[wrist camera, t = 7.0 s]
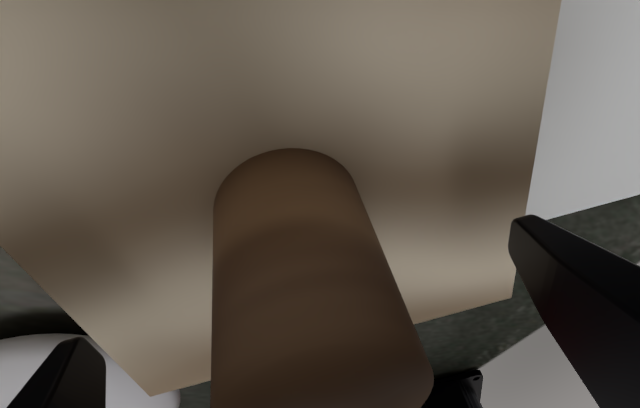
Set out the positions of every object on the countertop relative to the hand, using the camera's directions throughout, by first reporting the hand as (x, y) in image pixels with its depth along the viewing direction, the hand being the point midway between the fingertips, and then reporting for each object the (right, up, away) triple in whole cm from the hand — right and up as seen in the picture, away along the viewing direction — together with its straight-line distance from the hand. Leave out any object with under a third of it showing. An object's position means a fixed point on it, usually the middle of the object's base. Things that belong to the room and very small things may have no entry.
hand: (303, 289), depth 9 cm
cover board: (-1, +2, +3) cm, 4 cm away
